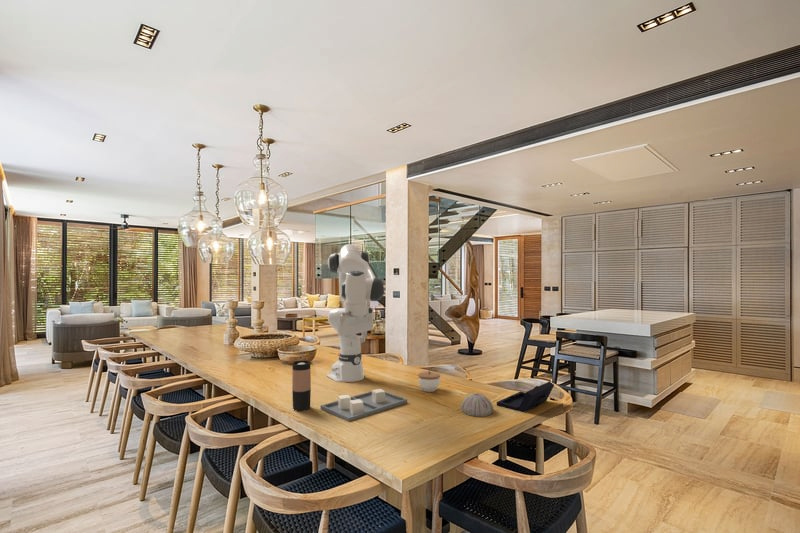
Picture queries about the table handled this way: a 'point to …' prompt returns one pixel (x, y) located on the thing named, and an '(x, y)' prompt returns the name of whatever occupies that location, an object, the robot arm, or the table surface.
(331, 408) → the divided tray
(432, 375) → the lidded jar
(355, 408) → the limestone block
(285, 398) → the table surface
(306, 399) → the travel mug
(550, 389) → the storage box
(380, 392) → the limestone block
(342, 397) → the limestone block
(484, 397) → the sea urchin shell
